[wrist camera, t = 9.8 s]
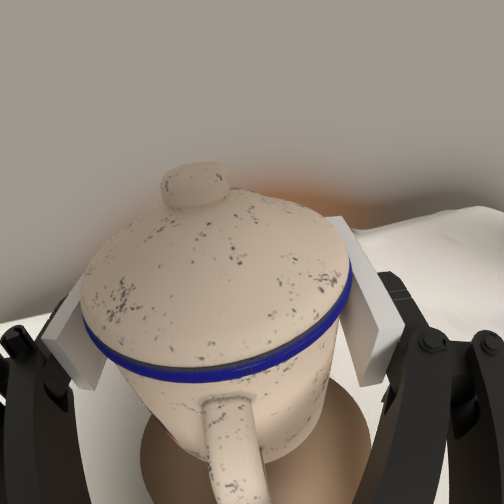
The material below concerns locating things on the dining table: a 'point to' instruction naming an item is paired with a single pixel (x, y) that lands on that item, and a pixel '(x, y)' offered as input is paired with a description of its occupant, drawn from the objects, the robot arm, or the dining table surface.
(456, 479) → the robot arm
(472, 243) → the dining table surface
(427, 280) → the dining table surface
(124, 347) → the teacup with lid
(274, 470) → the brown round disc
